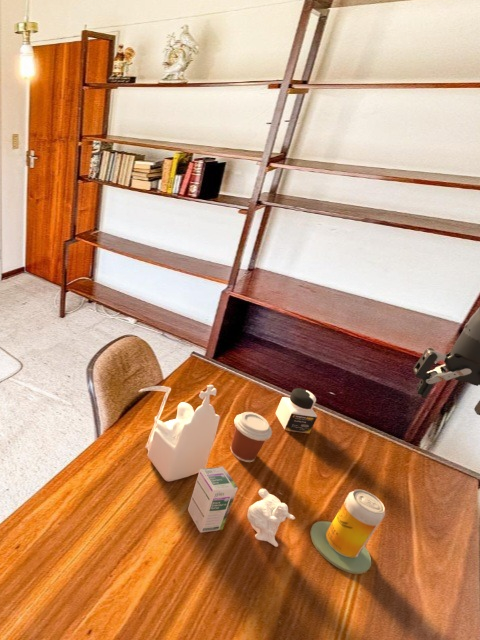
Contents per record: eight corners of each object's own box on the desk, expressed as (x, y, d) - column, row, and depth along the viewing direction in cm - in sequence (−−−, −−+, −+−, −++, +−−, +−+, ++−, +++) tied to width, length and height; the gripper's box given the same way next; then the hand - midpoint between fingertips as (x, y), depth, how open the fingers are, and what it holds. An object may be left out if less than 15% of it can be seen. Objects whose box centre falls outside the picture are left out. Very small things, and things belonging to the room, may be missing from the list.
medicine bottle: (284, 430, 119) (297, 400, 114) (274, 413, 126) (286, 384, 121) (309, 434, 118) (324, 403, 113) (298, 416, 125) (312, 387, 120)
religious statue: (175, 434, 116) (197, 351, 103) (208, 472, 105) (238, 384, 92) (124, 448, 111) (141, 362, 98) (153, 490, 100) (177, 398, 87)
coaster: (365, 539, 90) (367, 537, 90) (373, 585, 82) (375, 583, 81) (309, 514, 95) (310, 512, 95) (310, 555, 87) (312, 552, 86)
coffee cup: (267, 456, 110) (280, 424, 105) (250, 471, 106) (263, 439, 100) (236, 435, 117) (247, 404, 112) (218, 448, 112) (229, 416, 107)
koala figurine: (288, 550, 87) (307, 515, 82) (261, 554, 86) (278, 519, 81) (263, 514, 95) (278, 480, 90) (237, 516, 94) (251, 482, 89)
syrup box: (199, 533, 90) (215, 491, 84) (186, 509, 95) (200, 467, 89) (222, 530, 91) (239, 488, 85) (208, 506, 96) (222, 464, 90)
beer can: (327, 526, 92) (353, 482, 85) (359, 545, 88) (389, 501, 82) (321, 544, 88) (348, 500, 82) (355, 566, 84) (385, 521, 78)
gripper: (447, 333, 73) (407, 401, 80) (561, 360, 66) (507, 431, 73) (435, 316, 79) (399, 380, 86) (539, 339, 72) (490, 407, 79)
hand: (449, 404), depth 79 cm, fingers open, 8 cm apart
